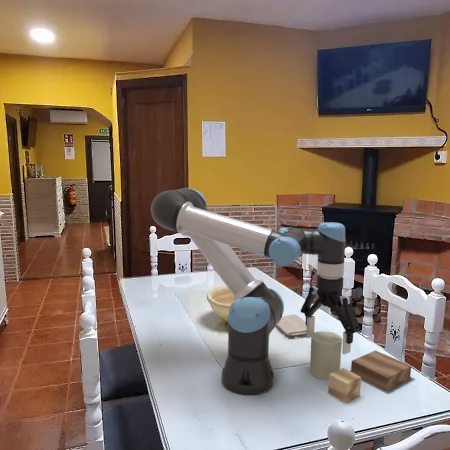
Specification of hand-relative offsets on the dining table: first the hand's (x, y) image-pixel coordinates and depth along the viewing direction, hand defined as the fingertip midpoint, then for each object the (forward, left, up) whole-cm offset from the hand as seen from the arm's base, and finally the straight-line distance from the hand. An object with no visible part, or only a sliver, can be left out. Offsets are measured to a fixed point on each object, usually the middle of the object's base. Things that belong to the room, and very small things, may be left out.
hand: (327, 344), depth 122 cm
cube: (-5, -11, -9) cm, 15 cm away
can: (0, 0, -10) cm, 10 cm away
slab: (+12, -11, -9) cm, 18 cm away
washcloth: (+16, +30, -10) cm, 36 cm away
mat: (+12, -11, -9) cm, 18 cm away
